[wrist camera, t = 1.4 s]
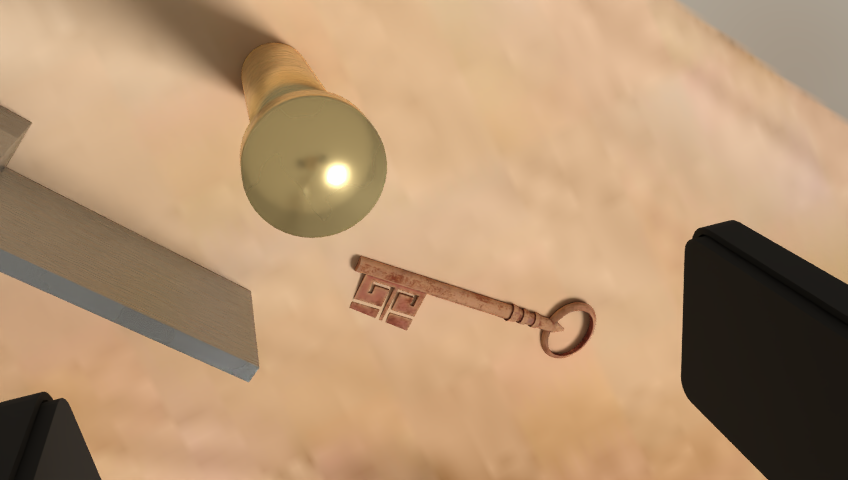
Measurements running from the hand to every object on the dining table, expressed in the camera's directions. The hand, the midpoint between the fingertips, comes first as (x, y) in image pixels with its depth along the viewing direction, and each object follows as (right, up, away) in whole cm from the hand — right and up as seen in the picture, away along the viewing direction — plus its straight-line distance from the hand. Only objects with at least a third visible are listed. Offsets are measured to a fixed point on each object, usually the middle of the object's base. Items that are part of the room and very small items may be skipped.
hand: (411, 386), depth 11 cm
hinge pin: (-6, +9, +22) cm, 25 cm away
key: (+3, -2, +30) cm, 30 cm away
